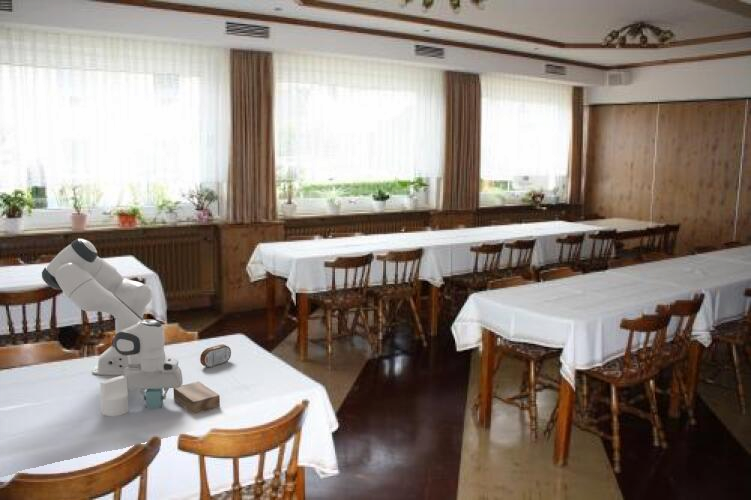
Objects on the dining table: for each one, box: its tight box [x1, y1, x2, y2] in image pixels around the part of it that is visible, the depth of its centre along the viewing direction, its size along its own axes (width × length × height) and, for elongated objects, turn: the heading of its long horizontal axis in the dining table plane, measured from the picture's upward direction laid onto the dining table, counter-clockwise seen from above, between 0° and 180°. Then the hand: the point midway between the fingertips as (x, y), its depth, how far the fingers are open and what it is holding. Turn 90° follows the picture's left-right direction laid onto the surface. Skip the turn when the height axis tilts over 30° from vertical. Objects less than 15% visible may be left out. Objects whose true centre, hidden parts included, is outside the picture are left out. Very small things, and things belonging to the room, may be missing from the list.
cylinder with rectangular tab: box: [99, 375, 130, 417], centre depth 227 cm, size 9×9×12 cm
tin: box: [199, 344, 232, 368], centre depth 277 cm, size 15×3×8 cm, turn 141°
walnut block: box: [173, 381, 221, 415], centre depth 235 cm, size 10×18×5 cm, turn 40°
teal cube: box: [145, 388, 164, 409], centre depth 233 cm, size 5×5×6 cm
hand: (154, 399), depth 233 cm, fingers closed on teal cube, 5 cm apart
